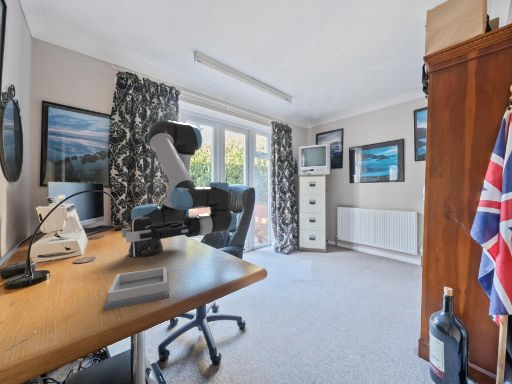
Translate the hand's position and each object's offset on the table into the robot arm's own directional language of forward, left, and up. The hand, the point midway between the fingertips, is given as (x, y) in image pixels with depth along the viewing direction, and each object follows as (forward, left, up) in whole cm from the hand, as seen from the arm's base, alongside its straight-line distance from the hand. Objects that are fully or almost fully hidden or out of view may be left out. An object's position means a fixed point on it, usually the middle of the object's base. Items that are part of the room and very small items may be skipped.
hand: (124, 235), depth 66 cm
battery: (-1, +5, -7) cm, 8 cm away
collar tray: (-2, +4, -18) cm, 18 cm away
